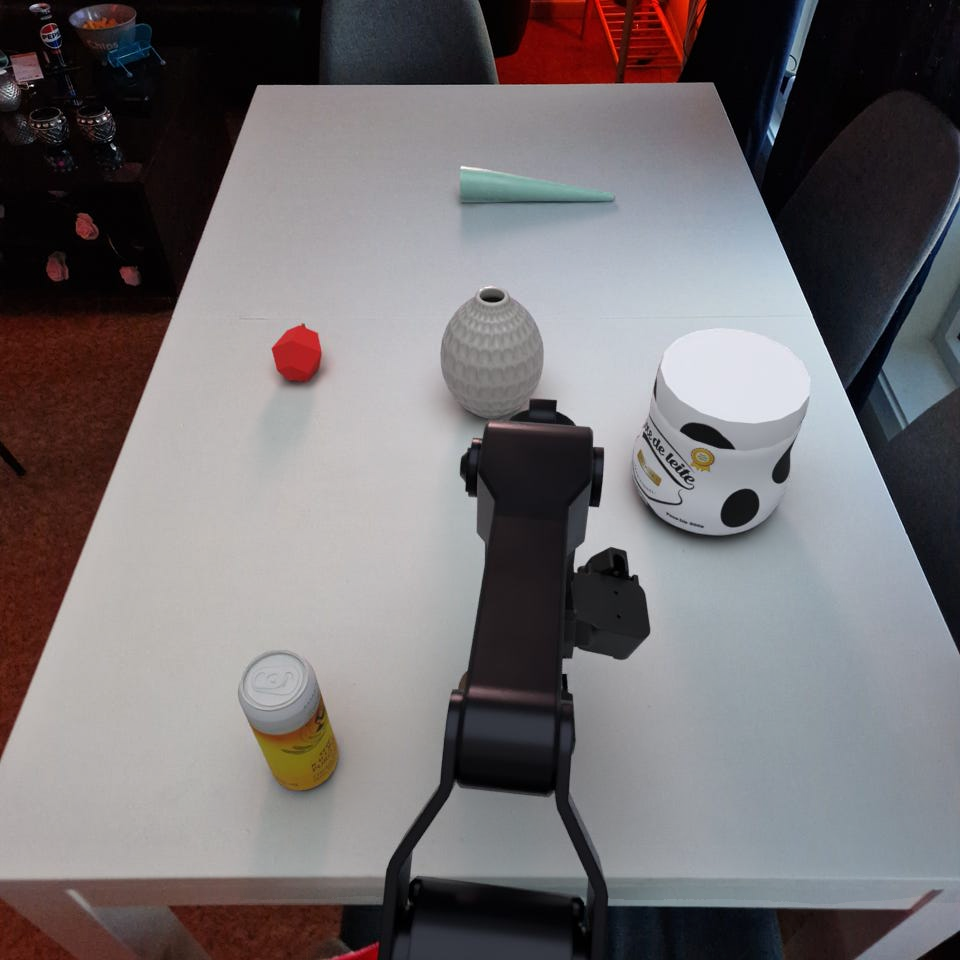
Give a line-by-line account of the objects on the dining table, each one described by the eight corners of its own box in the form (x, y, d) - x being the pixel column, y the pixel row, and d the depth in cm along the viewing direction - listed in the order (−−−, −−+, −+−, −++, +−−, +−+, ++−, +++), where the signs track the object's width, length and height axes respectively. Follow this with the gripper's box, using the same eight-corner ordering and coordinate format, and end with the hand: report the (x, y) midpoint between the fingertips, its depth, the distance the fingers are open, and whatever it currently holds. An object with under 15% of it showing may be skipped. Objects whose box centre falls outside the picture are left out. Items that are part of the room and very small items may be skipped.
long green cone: (619, 178, 137) (459, 175, 138) (615, 209, 141) (460, 205, 142) (617, 163, 141) (461, 160, 142) (614, 193, 145) (462, 190, 146)
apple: (305, 365, 105) (318, 311, 108) (258, 365, 107) (272, 313, 110) (327, 391, 111) (339, 340, 114) (283, 391, 113) (295, 341, 116)
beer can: (334, 794, 73) (307, 715, 62) (266, 793, 73) (226, 714, 62) (343, 729, 77) (319, 644, 66) (278, 729, 77) (243, 644, 66)
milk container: (601, 506, 95) (619, 388, 82) (666, 420, 105) (692, 303, 92) (742, 573, 89) (787, 457, 75) (798, 476, 98) (846, 358, 85)
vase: (559, 415, 106) (569, 307, 94) (472, 449, 102) (470, 341, 90) (509, 360, 114) (511, 253, 101) (426, 390, 109) (418, 283, 97)
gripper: (670, 702, 48) (634, 806, 60) (635, 472, 61) (611, 594, 72) (480, 699, 48) (481, 803, 60) (485, 470, 61) (485, 592, 73)
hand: (521, 688), depth 66 cm, fingers closed on cap, 4 cm apart
